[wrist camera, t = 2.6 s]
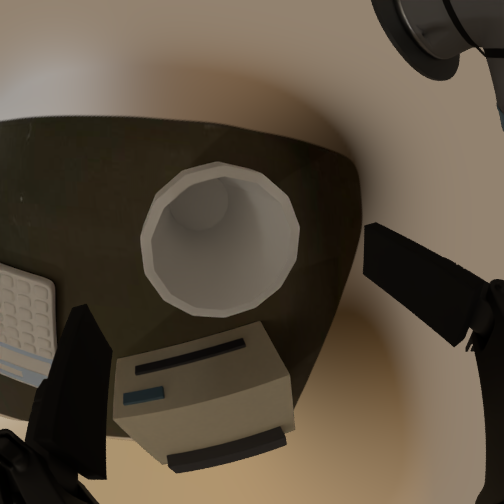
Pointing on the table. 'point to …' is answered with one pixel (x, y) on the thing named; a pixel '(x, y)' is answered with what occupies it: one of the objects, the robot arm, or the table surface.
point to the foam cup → (219, 240)
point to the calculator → (26, 325)
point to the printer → (206, 399)
